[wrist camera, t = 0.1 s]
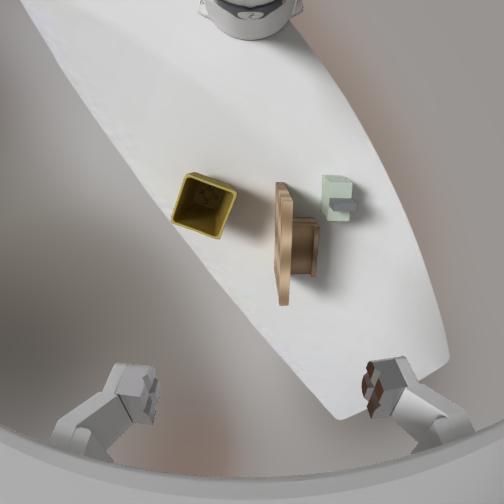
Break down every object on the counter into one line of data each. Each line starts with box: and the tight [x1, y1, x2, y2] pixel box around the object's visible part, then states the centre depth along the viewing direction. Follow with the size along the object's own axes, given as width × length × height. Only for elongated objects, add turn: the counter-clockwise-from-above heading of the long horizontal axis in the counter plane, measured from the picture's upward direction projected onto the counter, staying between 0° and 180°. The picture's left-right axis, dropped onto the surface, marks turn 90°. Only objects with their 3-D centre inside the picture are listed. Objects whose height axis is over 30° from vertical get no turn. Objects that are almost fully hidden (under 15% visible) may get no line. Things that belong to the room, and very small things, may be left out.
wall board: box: [274, 182, 319, 306], centre depth 53 cm, size 18×8×13 cm, turn 1°
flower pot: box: [171, 172, 237, 239], centre depth 52 cm, size 9×9×9 cm
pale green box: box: [321, 175, 357, 221], centre depth 52 cm, size 7×4×9 cm, turn 1°
